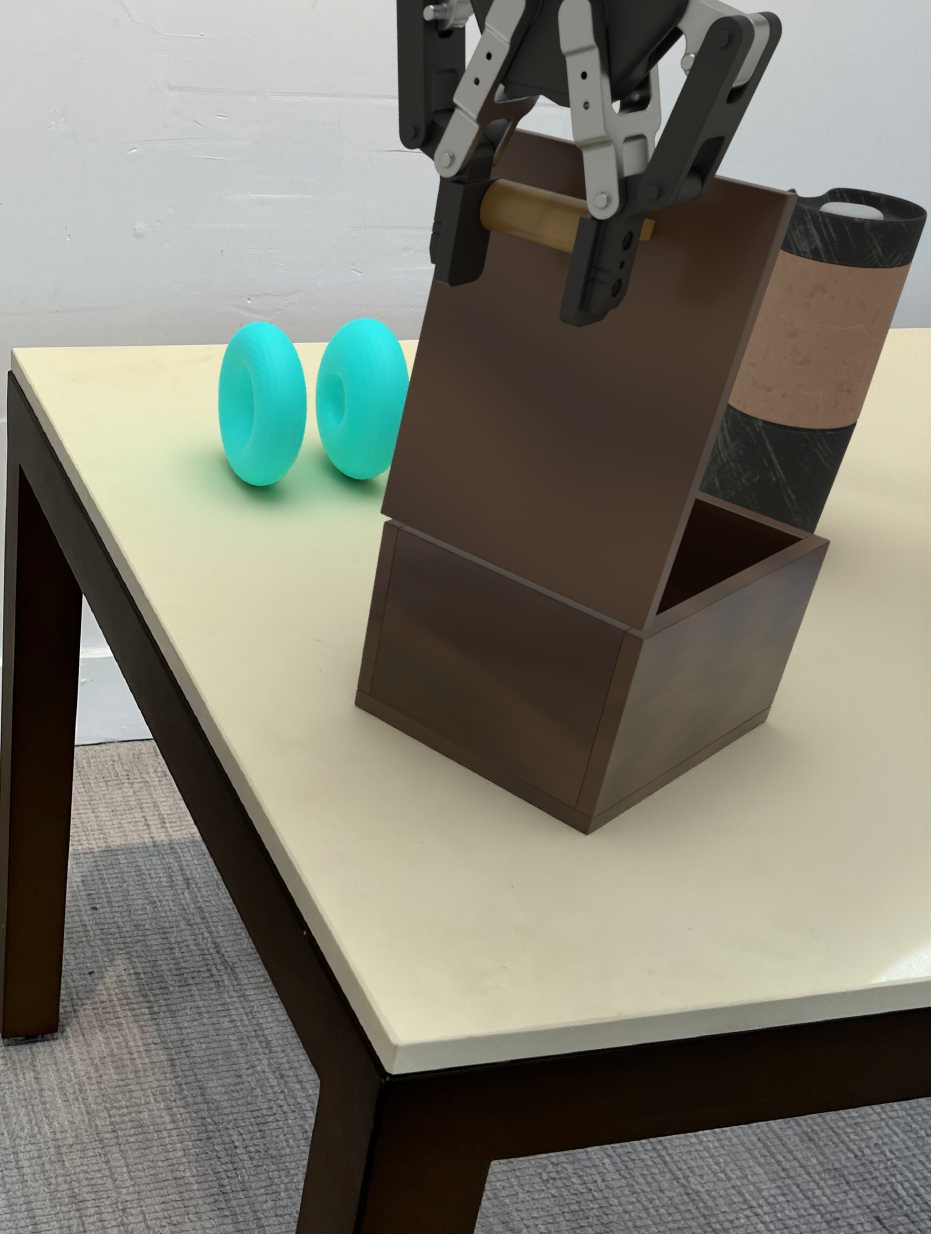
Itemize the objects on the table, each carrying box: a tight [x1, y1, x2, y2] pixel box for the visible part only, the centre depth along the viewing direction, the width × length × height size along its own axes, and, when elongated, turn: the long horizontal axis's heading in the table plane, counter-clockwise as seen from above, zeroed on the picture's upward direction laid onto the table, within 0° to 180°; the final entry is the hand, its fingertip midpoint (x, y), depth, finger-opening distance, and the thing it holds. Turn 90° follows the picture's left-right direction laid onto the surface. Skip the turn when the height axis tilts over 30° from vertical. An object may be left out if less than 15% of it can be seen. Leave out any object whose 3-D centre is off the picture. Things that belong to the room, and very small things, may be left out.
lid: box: [380, 127, 799, 631], centre depth 58 cm, size 17×14×5 cm
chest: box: [354, 491, 831, 835], centre depth 71 cm, size 16×14×10 cm
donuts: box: [217, 317, 410, 487], centre depth 94 cm, size 10×10×10 cm
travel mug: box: [698, 187, 928, 534], centre depth 86 cm, size 8×8×20 cm
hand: (517, 298), depth 55 cm, fingers closed on lid, 5 cm apart
